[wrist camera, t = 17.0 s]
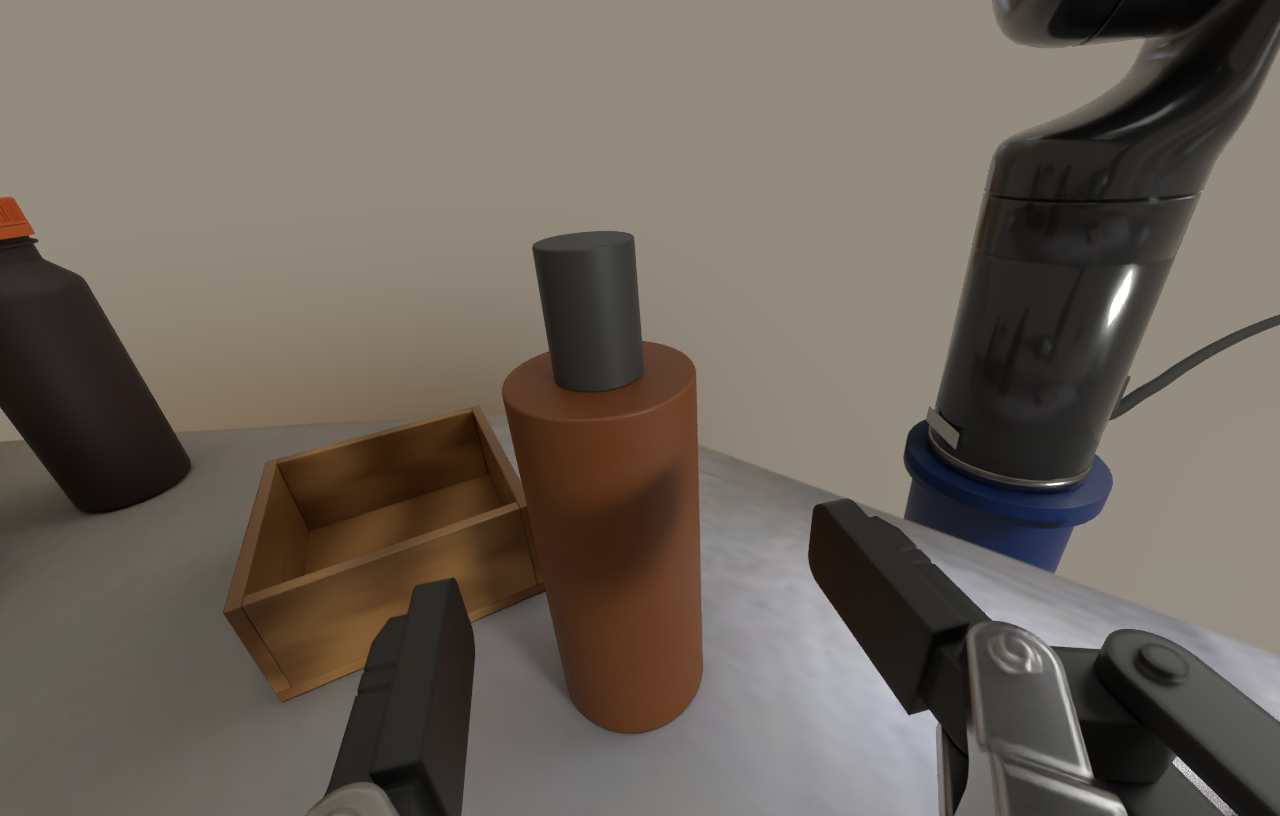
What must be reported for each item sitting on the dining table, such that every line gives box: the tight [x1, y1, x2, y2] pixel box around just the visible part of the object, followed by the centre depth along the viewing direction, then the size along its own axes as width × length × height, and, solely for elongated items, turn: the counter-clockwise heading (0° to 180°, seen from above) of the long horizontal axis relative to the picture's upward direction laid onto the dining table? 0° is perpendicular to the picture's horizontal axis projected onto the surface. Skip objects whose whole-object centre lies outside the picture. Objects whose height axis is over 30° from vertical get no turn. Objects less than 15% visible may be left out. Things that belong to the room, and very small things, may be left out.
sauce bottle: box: [502, 231, 703, 733], centre depth 18 cm, size 6×6×18 cm
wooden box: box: [223, 405, 545, 702], centre depth 28 cm, size 12×12×6 cm
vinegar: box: [0, 197, 191, 512], centre depth 34 cm, size 7×7×20 cm
